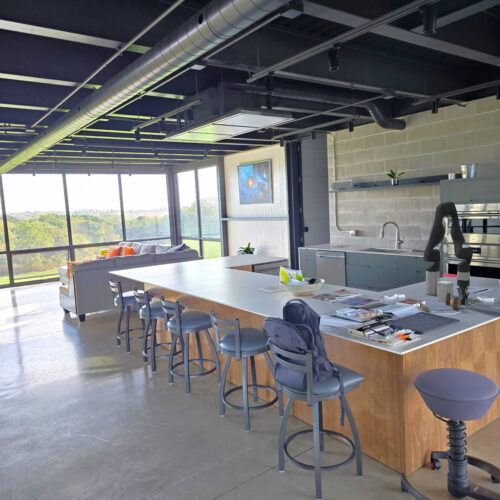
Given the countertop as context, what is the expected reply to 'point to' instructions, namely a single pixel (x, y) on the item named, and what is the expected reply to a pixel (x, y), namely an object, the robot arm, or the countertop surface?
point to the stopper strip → (423, 306)
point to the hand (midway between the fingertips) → (463, 304)
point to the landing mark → (437, 307)
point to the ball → (452, 303)
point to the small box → (444, 290)
